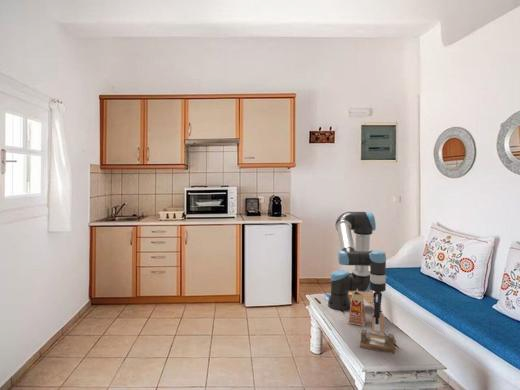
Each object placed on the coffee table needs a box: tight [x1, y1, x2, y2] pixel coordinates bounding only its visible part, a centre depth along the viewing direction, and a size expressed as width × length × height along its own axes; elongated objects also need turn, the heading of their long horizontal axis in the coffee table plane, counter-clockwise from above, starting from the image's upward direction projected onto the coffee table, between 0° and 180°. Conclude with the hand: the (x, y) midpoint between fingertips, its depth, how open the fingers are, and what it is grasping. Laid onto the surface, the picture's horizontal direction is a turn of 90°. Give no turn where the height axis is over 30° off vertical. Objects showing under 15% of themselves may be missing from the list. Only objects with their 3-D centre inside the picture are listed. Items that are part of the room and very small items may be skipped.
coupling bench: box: [359, 329, 396, 354], centre depth 172 cm, size 16×16×6 cm
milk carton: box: [347, 289, 367, 327], centre depth 199 cm, size 9×9×20 cm
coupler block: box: [371, 311, 384, 332], centre depth 170 cm, size 5×5×7 cm
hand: (377, 327), depth 170 cm, fingers closed on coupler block, 5 cm apart
